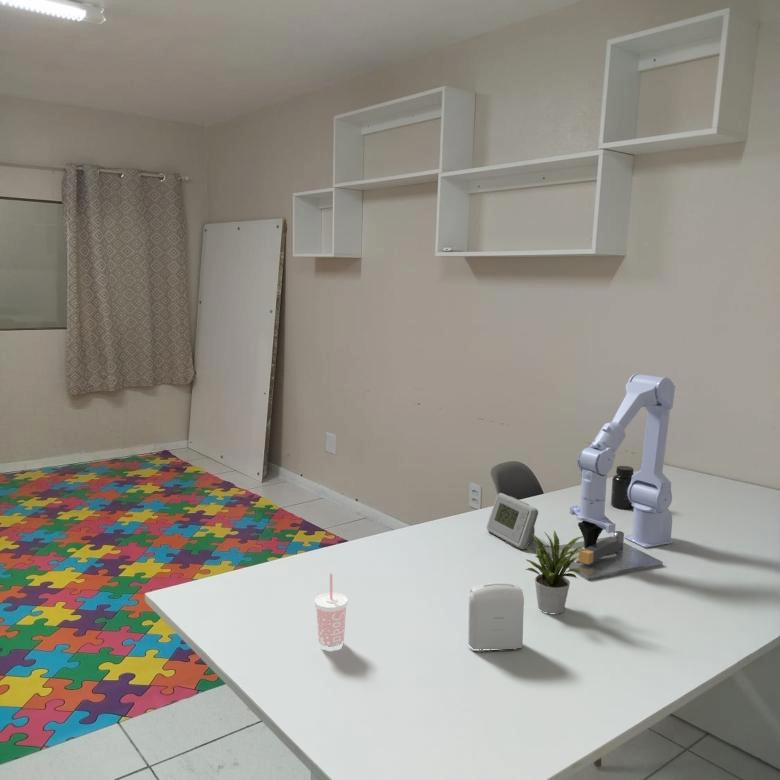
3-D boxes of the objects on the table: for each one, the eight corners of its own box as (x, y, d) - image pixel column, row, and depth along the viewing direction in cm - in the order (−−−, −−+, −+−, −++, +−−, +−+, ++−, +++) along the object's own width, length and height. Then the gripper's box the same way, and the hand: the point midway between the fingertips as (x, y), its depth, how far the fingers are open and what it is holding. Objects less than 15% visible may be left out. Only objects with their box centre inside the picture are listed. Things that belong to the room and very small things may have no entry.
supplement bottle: (605, 504, 216) (608, 465, 214) (623, 501, 219) (625, 463, 217) (621, 511, 210) (624, 471, 208) (639, 508, 212) (642, 469, 211)
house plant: (600, 604, 150) (605, 530, 147) (582, 632, 138) (587, 552, 135) (535, 588, 157) (538, 518, 154) (512, 614, 145) (515, 537, 143)
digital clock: (484, 530, 193) (485, 492, 191) (514, 527, 195) (515, 490, 194) (510, 553, 177) (511, 512, 176) (542, 549, 180) (544, 509, 178)
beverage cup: (318, 656, 129) (317, 582, 126) (312, 639, 134) (311, 569, 132) (351, 651, 130) (351, 579, 128) (343, 635, 136) (343, 565, 134)
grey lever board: (611, 540, 186) (612, 521, 186) (662, 565, 170) (663, 545, 169) (541, 552, 178) (542, 533, 177) (588, 580, 162) (589, 559, 161)
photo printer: (470, 653, 130) (472, 590, 128) (465, 642, 134) (467, 580, 132) (525, 651, 131) (528, 588, 129) (518, 639, 135) (521, 578, 133)
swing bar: (609, 545, 178) (609, 536, 177) (618, 548, 176) (619, 538, 176) (578, 561, 168) (579, 550, 168) (588, 564, 166) (589, 553, 166)
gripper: (560, 490, 176) (558, 542, 178) (599, 508, 163) (596, 564, 165) (584, 487, 179) (581, 539, 181) (623, 504, 165) (620, 560, 168)
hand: (590, 551), depth 173 cm, fingers closed, pressing on swing bar
